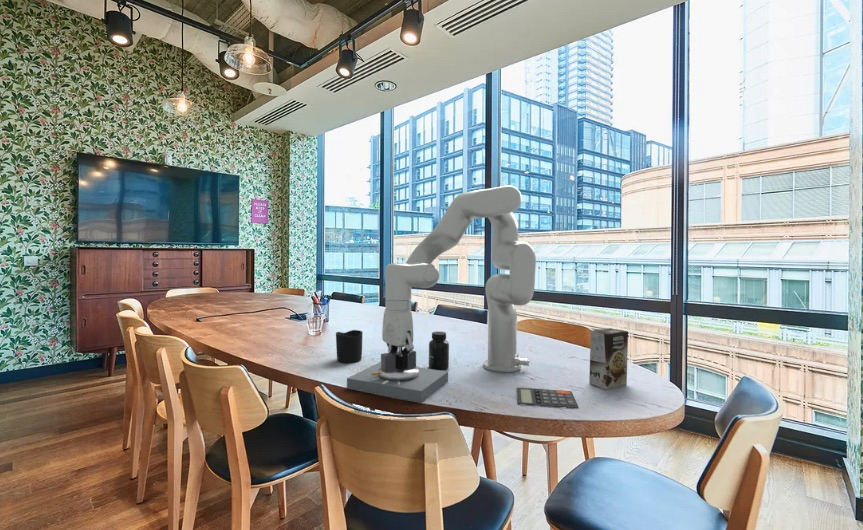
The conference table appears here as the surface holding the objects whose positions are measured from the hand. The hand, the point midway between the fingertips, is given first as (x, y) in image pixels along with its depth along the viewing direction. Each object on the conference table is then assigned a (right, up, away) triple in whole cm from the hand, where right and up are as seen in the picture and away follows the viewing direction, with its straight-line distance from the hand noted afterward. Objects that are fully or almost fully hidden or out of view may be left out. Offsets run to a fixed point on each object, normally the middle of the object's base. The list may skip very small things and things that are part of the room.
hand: (398, 366), depth 117 cm
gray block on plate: (-1, -2, -1) cm, 2 cm away
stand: (0, -5, 0) cm, 5 cm away
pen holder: (-20, -4, +26) cm, 33 cm away
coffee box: (+62, -6, +1) cm, 62 cm away
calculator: (+41, -7, -10) cm, 42 cm away
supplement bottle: (+12, -5, +17) cm, 21 cm away
